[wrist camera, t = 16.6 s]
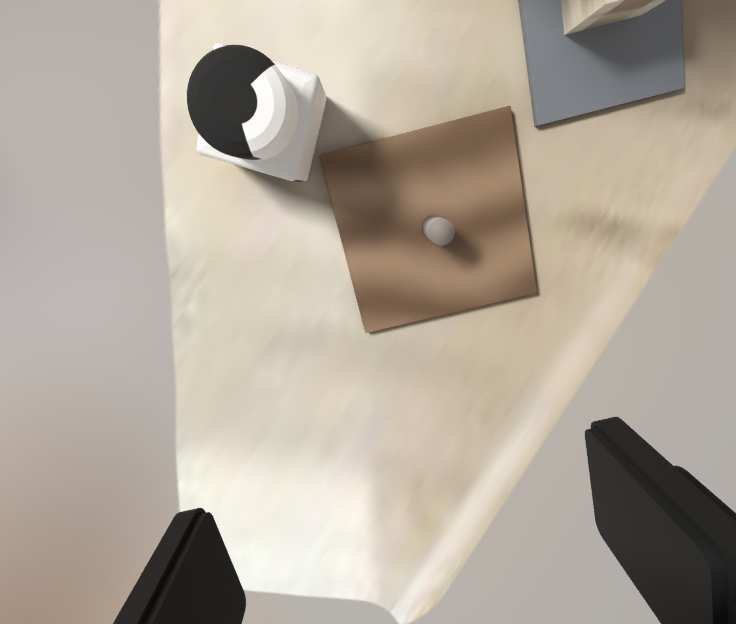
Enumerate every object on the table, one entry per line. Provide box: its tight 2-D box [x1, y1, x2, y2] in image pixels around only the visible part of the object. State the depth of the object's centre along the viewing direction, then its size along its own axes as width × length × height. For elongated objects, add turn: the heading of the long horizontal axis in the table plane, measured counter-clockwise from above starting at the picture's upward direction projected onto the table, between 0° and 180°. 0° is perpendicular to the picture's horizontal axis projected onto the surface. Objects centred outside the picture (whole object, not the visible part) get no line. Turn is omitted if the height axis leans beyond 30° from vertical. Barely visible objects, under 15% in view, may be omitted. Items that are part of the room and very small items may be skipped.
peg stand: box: [319, 106, 537, 333], centre depth 36 cm, size 16×16×5 cm
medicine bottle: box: [187, 44, 327, 182], centre depth 31 cm, size 7×7×12 cm
